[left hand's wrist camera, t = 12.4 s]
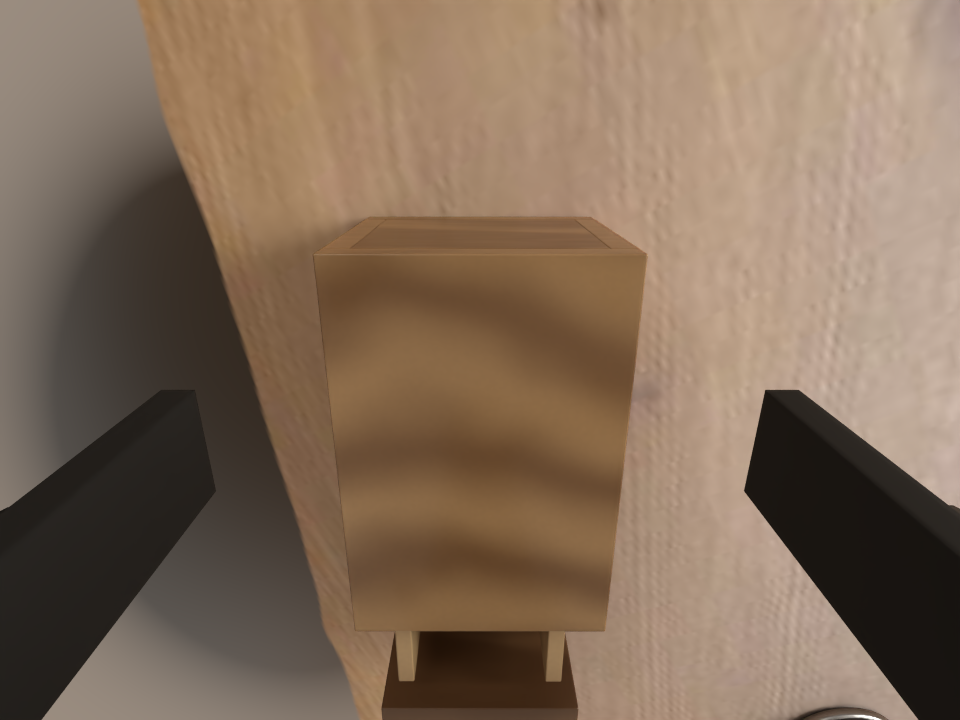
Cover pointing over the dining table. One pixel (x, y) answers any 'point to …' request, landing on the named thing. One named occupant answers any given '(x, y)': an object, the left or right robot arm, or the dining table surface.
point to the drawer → (479, 676)
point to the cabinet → (480, 416)
